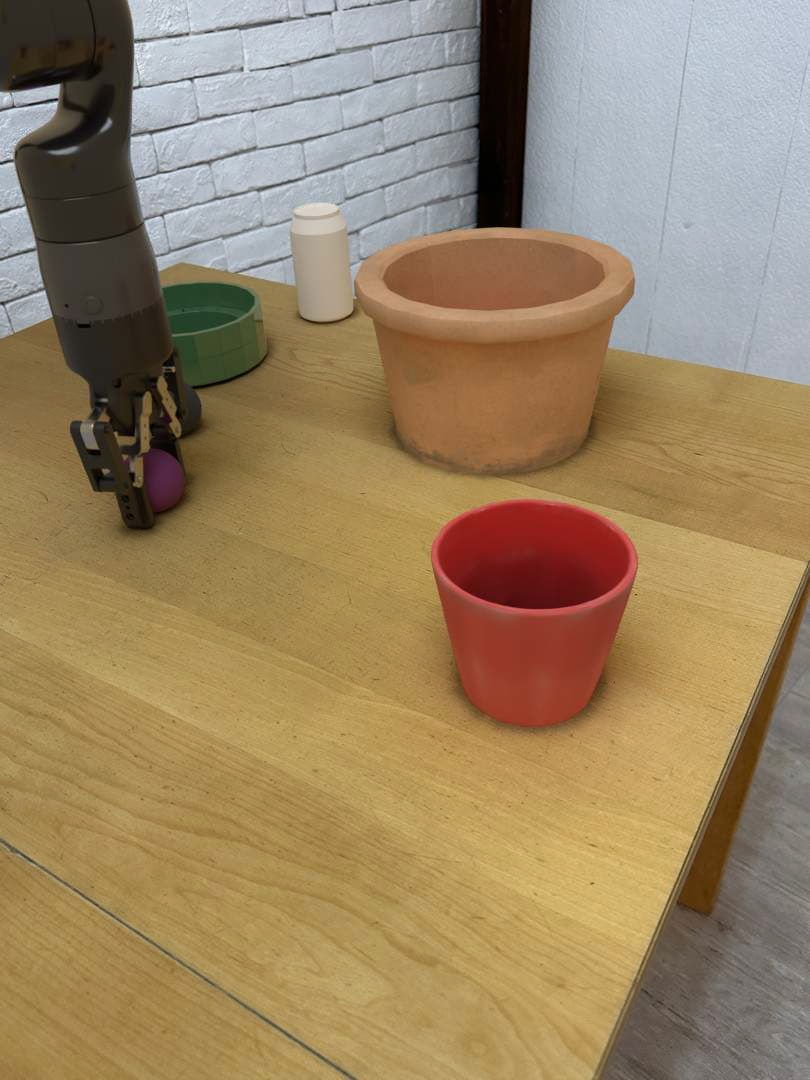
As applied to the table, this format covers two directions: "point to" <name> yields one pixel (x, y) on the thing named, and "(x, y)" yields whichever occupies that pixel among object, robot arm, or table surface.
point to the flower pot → (532, 604)
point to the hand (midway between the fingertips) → (156, 501)
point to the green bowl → (215, 329)
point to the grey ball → (190, 410)
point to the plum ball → (161, 479)
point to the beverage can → (321, 262)
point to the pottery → (493, 342)
